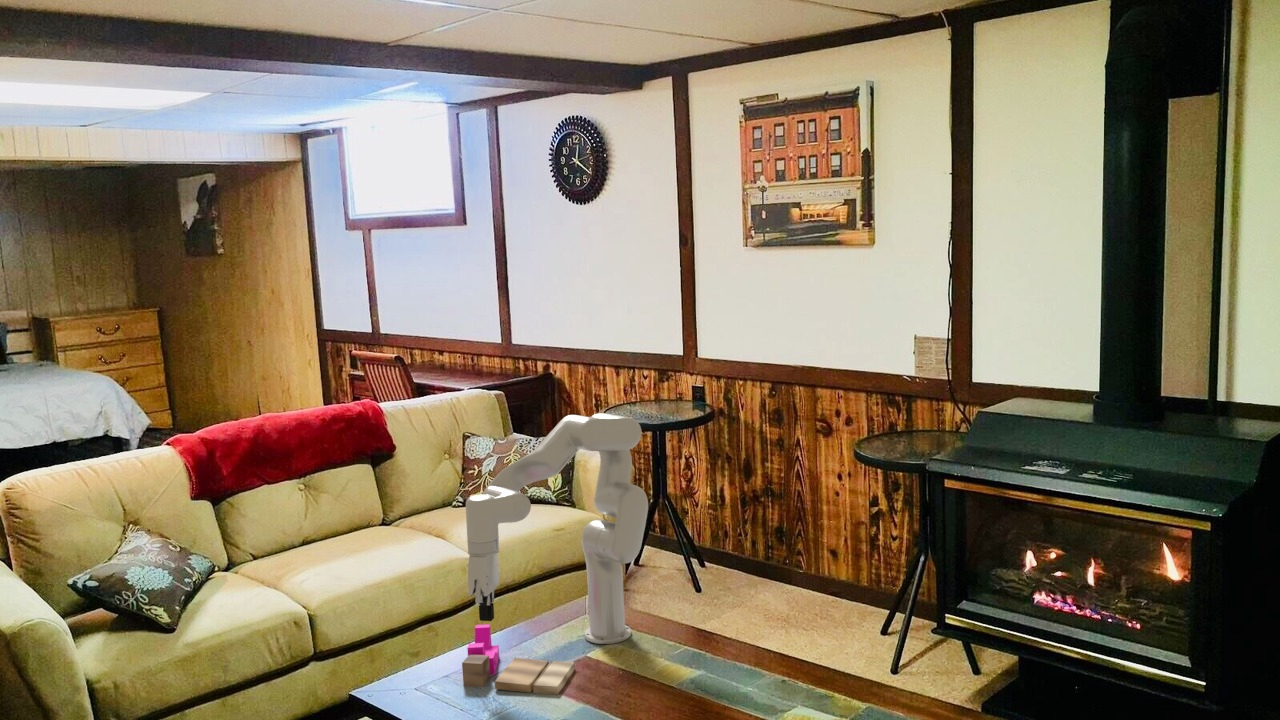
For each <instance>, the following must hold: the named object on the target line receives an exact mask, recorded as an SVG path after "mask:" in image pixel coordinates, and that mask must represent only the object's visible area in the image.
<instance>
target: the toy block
mask: <svg viewBox="0 0 1280 720" xmlns="http://www.w3.org/2000/svg"><path fill="white" fill-rule="evenodd" d="M470 654H472V655H489V664H490V676H494V675H495V674H496V669H497V667H498V664H499V659H500V647H499V645H492V630H491V624H489V623H488V624H475V627H474V642H472V643H471V642H470V643H468V646H467V657H468V656H469V655H470Z"/></svg>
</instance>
